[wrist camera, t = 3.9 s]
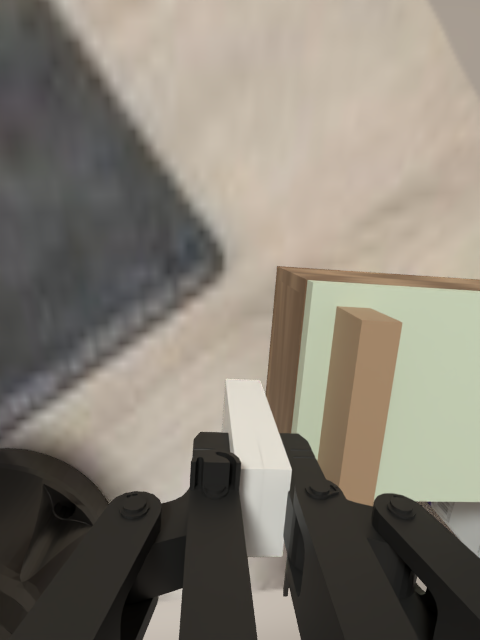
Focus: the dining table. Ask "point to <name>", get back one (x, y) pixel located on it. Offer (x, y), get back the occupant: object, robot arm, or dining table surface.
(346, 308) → the lid
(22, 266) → the dining table surface
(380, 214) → the dining table surface
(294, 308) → the box
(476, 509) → the supplement box
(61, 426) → the dining table surface
